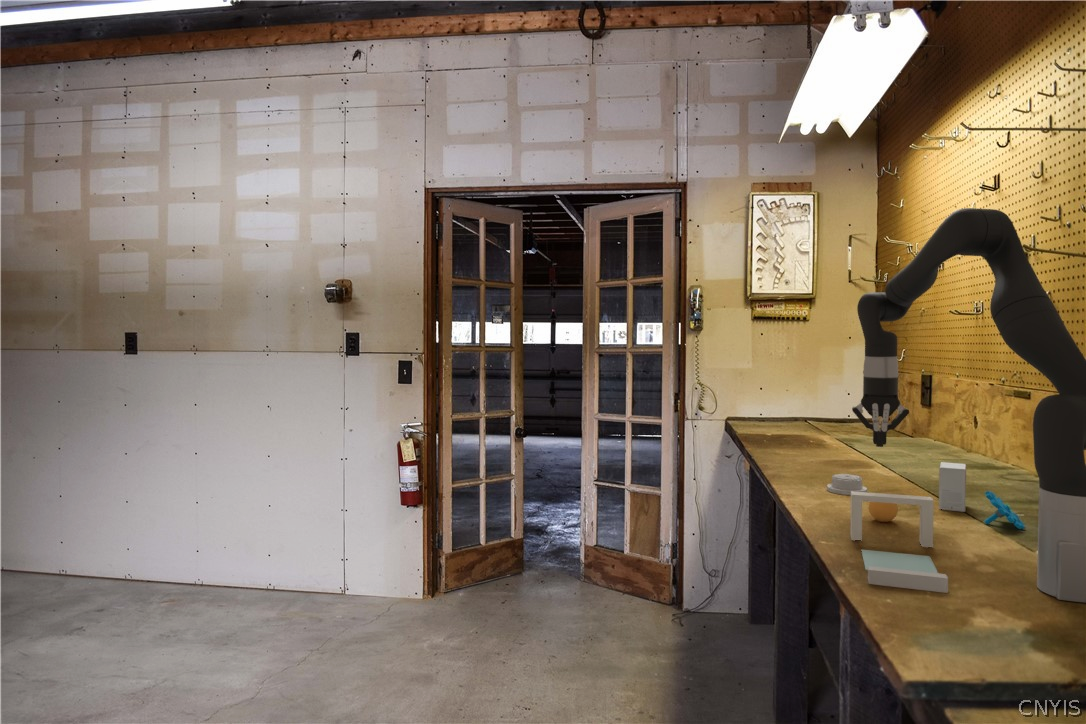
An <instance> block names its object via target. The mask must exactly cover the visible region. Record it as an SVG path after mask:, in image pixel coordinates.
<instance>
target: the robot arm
mask: <svg viewBox="0 0 1086 724" xmlns="http://www.w3.org/2000/svg"><path fill="white" fill-rule="evenodd" d="M956 256H962V257H963V256H965V257H966V256H968V257H969V256H970V257H981V258H983V259H984V260H985V262H986V263H987V264H988V266H989V268H990V270H991V272H992V274H993V277H994V287H993V292H992V295H991V298H990V306H989V308H990V311H989V312H990V315H991V318H992V320H993V322H994V324H995V326H996V328H997V331H998V333H999V335H1000V336H1001V338H1002V340H1003V341H1004V343H1005V344H1006V345H1007V346H1008V347H1009V349H1010V350H1012V352H1014V353H1015V354H1016V355H1017V356H1018V357H1020V358H1021V359H1022V360H1024V361H1025V362H1026V363H1028V364H1029V365H1030V366H1032V367H1033V368H1034V369H1035V370H1037V371H1038V372H1039V373H1040V374H1041V375H1043V376H1044V377H1045V378H1047V379H1048V381H1049V382H1050V383H1051V384H1052V385H1053V387H1054V388H1055V390H1056V391H1057V393H1058V394H1050V395H1048V396H1045V397H1043V398H1042V399H1040V401H1039V402H1038V403H1037V405H1036V407H1035V409H1034V412H1033V421H1032V431H1033V432H1032V436H1033V462H1034V463H1033V464H1034V468H1035V470H1036V475H1037V476H1038V480H1039V481H1038V483H1039V484H1038V485H1039V488H1038V516H1037V517H1038V521H1037V522H1038V523H1037V524H1038V525H1037V560H1036V561H1037V569H1036V571H1037V572H1036V573H1037V575H1036V576H1037V577H1036V578H1037V579H1036V587H1037V588H1038V590H1040V591H1041V592H1043V593H1045V594H1047V595H1049V596H1052V597H1055V598H1056V599H1057V600H1058V601H1068V602H1076V603H1085V604H1086V460H1085V451H1086V358H1085V356H1084V355H1083V353H1082V351H1081V350H1080V348H1079V346H1078V345H1077V344H1076V342H1075V340H1074V338H1073V336H1072V334H1070V332H1069V330H1068V329H1067V327H1066V325H1065V323H1064V321H1063V319H1062V316H1061V314H1060V313H1059V312H1058V310H1057V308H1056V307H1055V305H1054V303H1053V301H1052V299H1051V298H1050V297H1049V295H1048V293H1047V292H1046V290H1045V289H1044V287H1043V285H1042V284H1041V282H1040V279H1039V278H1038V276H1037V273H1036V272H1035V270H1034V268H1033V267H1032V265H1031V263H1030V261H1029V259H1028V256H1027V254H1026V252H1025V249H1024V247H1023V244H1022V242H1021V240H1020V236H1019V234H1018V233H1017V229H1016V227H1015V225H1014V223H1013V222H1012V219H1011V218H1010V217H1009V215H1007V214H1006V213H1005V212H1004V211H1002V210H998V209H995V208H994V209H993V208H973V207H972V208H970V207H965V208H960V209H956V210H955V211H953V212H952V213H950V214H949V215H948V216H947V217H946V218H945V219H944V220H943V221H942V223H940V225H939V226H938V227H937V228H936V230H935V231H934V232H933V234H932V235H931V236H930V238H929V239H928V240H927V241H926V242H925V244H924V245H923V246H922V248H921V249H920V251H919V252H918V253H917V254H916V256H915V257H914V258H913V259H912V260H911V261H910V262H909V263H908V264H907V265H906V266H905V267H903V269H901V270H899V272H897V273H896V274H895V275H894V276H893V277H891V279H890V280H889V281H888V282H887V283H886V285H885V288H884V292H882V291H881V292H878V291H877V292H876V291H875V292H872V291H871V292H866V293H864V294H863V295H861V297H860V298H859V299H858V303H857V308H856V311H857V315H858V320H859V322H860V326H861V330H862V335H863V338H864V361H863V371H862V374H863V377H862V378H863V381H862V382H863V385H862V394H863V395H862V398H861V399H860V403H859V404H857V405H856V406H853V407H852V408H851V410H852V413H854V415H855V416H856V417H857V418H858V420H859V421H860V422H861V423H862V424H863V426H865V428H866V429H869V430H871V431H872V442H873V444H874V445H875V447H878V448H879V447H881V448H884V446H885V445H886V444H887V433H888V431H890V430H895V429H896V428H897V427H898V425H900V424H901V423H902V422H903V420H904V419H906V417H907V416H908V415H909V414H910V410H909V409H908V408H906V407H904V406H903V405H902V404H901V401H900V399H899V362H898V361H899V360H898V337H897V334H896V333H894V332H892V331H888V330H887V331H886V330H884V328H883V326H882V324H881V322H884V323H885V322H886V323H887V322H889V323H890V322H895V321H899V320H901V319H902V318H903V317H905V316H906V314H907V313H908V311H909V310H910V308H911V307H912V305H913V304H914V302H915V301H916V300H917V299H918V298H920V297H922V296H923V295H924V294H925V293H926V292H927V291H929V290H930V289H931V288H932V287H933V286H934V284H935V283H936V281H937V278H938V274H939V268H940V266H941V265H942V264H944V263H945V262H946V261H948V260H950V259H951V258H953V257H956ZM863 408H864V409H863ZM864 410H865V411H866V412H867V414H868V415H869V416H871V421H872V423H871V422H870V421H869V420H868V419H867V418H866V417H865V416H864V414H863V413H864ZM896 410H897V411H896ZM895 411H896V413H897V415H896V416H895V417H893V419H892V420H891V422H890V423H889V417H891V416H893V414H894V413H895ZM879 417H880V418H879Z"/></svg>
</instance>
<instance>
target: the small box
mask: <svg viewBox="0 0 1086 724" xmlns="http://www.w3.org/2000/svg"><path fill="white" fill-rule="evenodd" d="M938 475H939V476H938V509H939V510H941V509H942V510H944V511H953V512H961V513H966V503H967V502H966V497H967V496H966V495H967V464H966V463H957V462H947V461H946V462H944V461H941V462H940V465H939V467H938Z"/></svg>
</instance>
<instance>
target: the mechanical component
mask: <svg viewBox="0 0 1086 724" xmlns="http://www.w3.org/2000/svg"><path fill="white" fill-rule="evenodd" d="M826 490H827V491H828V492H829V493H833V494H836V495H843V496H851V491H854V492H868V488H867V487H866V486H864V485H863V478H862V476H859V475H856V474H848V473H839V474H838V473H836V474H832V476H831V483H828V484H827V485H826Z"/></svg>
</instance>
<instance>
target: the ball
mask: <svg viewBox="0 0 1086 724" xmlns="http://www.w3.org/2000/svg"><path fill="white" fill-rule="evenodd" d="M868 512H869V513H870V516H871V517H873V519H875V520H876V521H878V522H884V523H887V522H891V521H892V520H894V519H895V518H896V516H897V515H898V513H899V509H898V505H897V504H896V503H882V502H869V504H868Z"/></svg>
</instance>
